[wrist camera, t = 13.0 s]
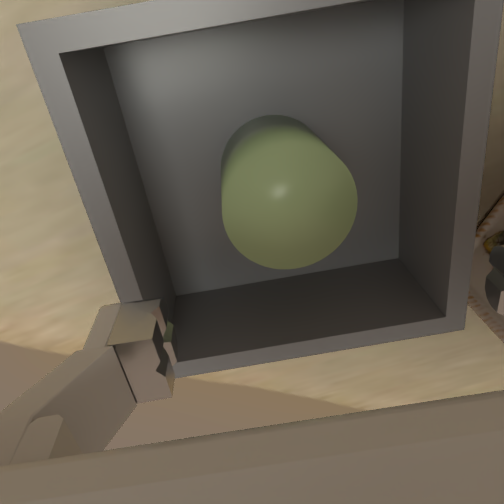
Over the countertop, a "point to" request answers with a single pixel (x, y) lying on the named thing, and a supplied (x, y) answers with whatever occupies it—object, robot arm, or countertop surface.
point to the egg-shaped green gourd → (284, 194)
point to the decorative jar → (486, 267)
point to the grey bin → (304, 110)
